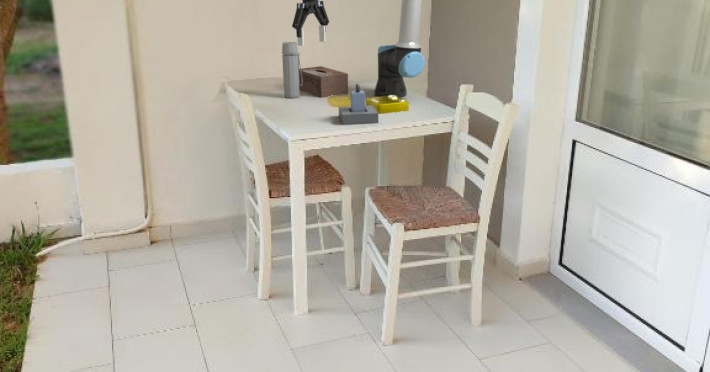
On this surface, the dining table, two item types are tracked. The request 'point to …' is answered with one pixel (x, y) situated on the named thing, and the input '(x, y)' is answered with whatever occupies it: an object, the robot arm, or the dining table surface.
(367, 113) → the socket
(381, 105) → the element tile
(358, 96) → the plug
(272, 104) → the dining table surface
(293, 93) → the water bottle
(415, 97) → the dining table surface
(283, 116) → the dining table surface
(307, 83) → the tissue box cover
